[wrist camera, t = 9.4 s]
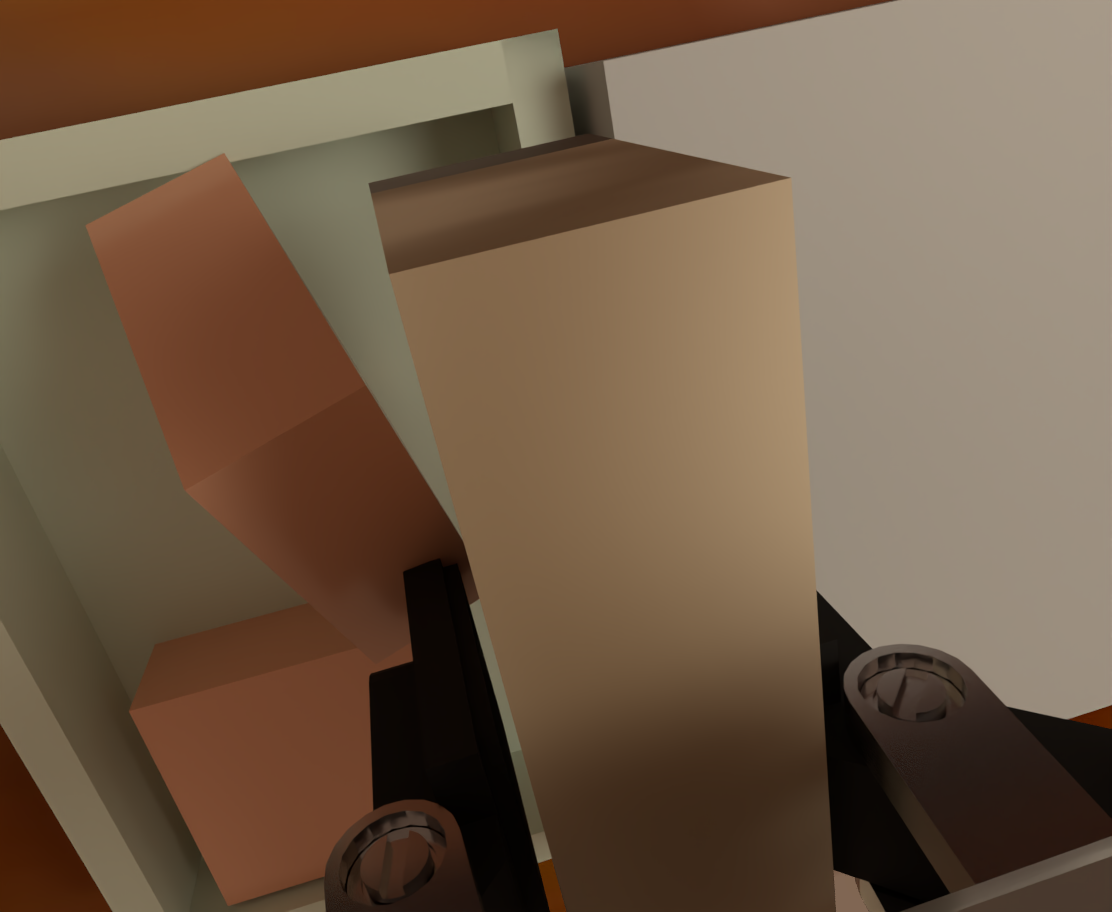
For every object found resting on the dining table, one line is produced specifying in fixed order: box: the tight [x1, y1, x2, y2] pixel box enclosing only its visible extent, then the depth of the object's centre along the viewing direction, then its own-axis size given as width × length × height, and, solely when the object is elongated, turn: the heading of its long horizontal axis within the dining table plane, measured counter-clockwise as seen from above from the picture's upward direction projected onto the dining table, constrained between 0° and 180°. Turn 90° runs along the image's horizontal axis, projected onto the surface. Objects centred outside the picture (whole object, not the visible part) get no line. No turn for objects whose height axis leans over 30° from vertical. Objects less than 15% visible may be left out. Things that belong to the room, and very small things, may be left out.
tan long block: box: [368, 133, 836, 912], centre depth 10 cm, size 3×13×5 cm, turn 11°
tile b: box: [85, 153, 479, 664], centre depth 12 cm, size 5×5×2 cm
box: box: [0, 29, 575, 912], centre depth 15 cm, size 11×15×3 cm
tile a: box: [129, 603, 413, 906], centre depth 17 cm, size 5×5×2 cm
